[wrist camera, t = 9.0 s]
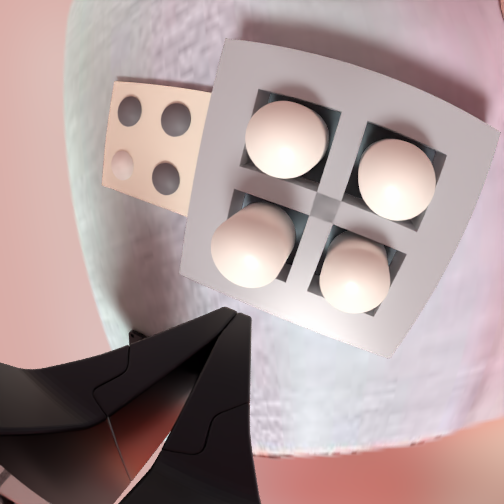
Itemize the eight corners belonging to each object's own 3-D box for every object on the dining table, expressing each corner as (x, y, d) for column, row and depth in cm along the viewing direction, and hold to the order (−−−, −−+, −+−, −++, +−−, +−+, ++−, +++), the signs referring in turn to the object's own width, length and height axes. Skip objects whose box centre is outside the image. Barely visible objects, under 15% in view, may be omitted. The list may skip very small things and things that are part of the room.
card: (190, 215, 22) (186, 217, 22) (105, 184, 24) (100, 185, 23) (214, 93, 18) (211, 92, 17) (117, 81, 20) (113, 81, 19)
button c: (409, 214, 17) (417, 232, 14) (349, 190, 17) (347, 203, 15) (431, 154, 15) (446, 160, 12) (370, 128, 15) (372, 127, 13)
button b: (285, 272, 19) (270, 298, 17) (227, 250, 20) (205, 271, 17) (304, 215, 17) (292, 233, 15) (241, 192, 18) (218, 206, 15)
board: (389, 337, 20) (389, 358, 18) (195, 260, 24) (179, 274, 22) (484, 130, 13) (500, 132, 11) (241, 47, 16) (225, 38, 14)
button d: (318, 178, 18) (309, 189, 15) (256, 158, 18) (237, 165, 16) (337, 116, 16) (332, 113, 13) (272, 98, 17) (255, 92, 14)
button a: (371, 294, 19) (371, 322, 17) (317, 273, 20) (309, 298, 17) (396, 243, 17) (402, 265, 15) (338, 220, 18) (334, 238, 16)
